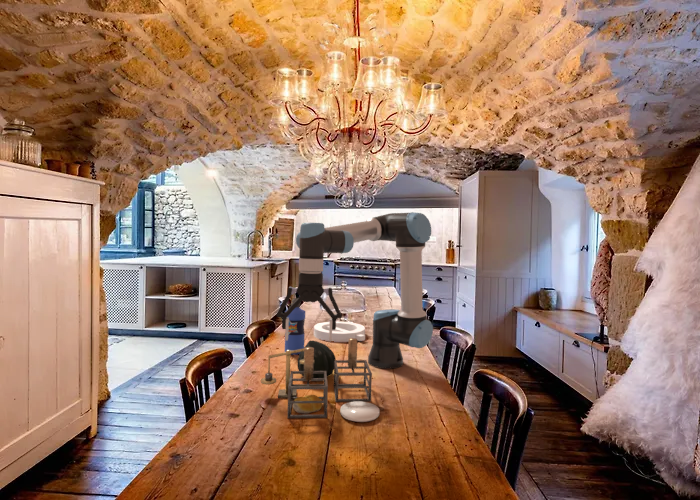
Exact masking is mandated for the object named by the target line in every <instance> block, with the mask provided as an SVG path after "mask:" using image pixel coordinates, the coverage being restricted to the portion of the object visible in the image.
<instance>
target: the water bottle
mask: <svg viewBox="0 0 700 500" xmlns="http://www.w3.org/2000/svg"><path fill="white" fill-rule="evenodd" d="M297 299H298V297H296V298H293V299H292V300H291V303H290V306H291V305H292V304H293V303H294V302H295V301H296V300H297ZM286 311H287V310H285V311H284V313H285V312H286ZM287 318H289V330H288V341H285V340H284V352H286V351H287V350H290V351H294V350H298V349H303V348H304V347H305V327H304V326H305V321H306V320H305V319H306V310H304V309H302V308H301V302H300V303H299V304H298V305H297V307H296V308H295V309H294V310H293V311H292V312H291V313H290V314H289V315H288V316H287ZM300 353H301V352H297V353H293V354H291V355H290V356H299V355H298V354H300Z"/></svg>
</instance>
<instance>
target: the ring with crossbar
mask: <svg viewBox="0 0 700 500" xmlns="http://www.w3.org/2000/svg"><path fill="white" fill-rule="evenodd" d="M329 323H330V321H323V322H320V323H316V324H315V325H313V337H314V338H316V339H318V340H320V339H321V340H322V341H324V340H325V342H330V341H329ZM349 338H356V339H357V342H364V341H365V340H366V328H365V326H364V325H362V324H360V323H355V322H351V321H336V329H335V330H332V341H334V342H333V343H349Z"/></svg>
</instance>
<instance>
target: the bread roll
mask: <svg viewBox="0 0 700 500" xmlns="http://www.w3.org/2000/svg"><path fill="white" fill-rule="evenodd" d="M296 397H297V398H296V399H295V400H293V401H322V400H321V399H320V398H319V397H320V396H317V395H316V394H309V395H308V394H307V395H305V396H296ZM322 406H323V403H292V409H293V410H294V411H295V412H296V413H298V414H304V415H307V414H310V413H315V412H319V411H320V410H321V409H322Z"/></svg>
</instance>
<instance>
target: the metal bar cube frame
mask: <svg viewBox="0 0 700 500" xmlns="http://www.w3.org/2000/svg"><path fill="white" fill-rule="evenodd" d="M347 351H348V355H347V356H348V357H347V360H345V359H343V360H342V359H337V360H334V370H333V391H334V398H335V399H334V400H335V403H349V402H354V401H363V402H368V403H371V402H372V383H373V381H372V379H373V373H372V371H371V368H370V366H369V363H368V360H367V359H361V360H359V359H357V358H358V340H357V339H356V338H349V342H348V349H347ZM359 363H360V364H361V363H362V364H364V365H363V366H357V365H358V364H359ZM338 364H347V366H338ZM346 369H347V370H351V372H350V371H349V372H348V371H347V372H346V371H345V372H339V370H346ZM356 369H357V370H358V369H359V370H361V369H362V370H363V371H360V372H359V371H355V370H356ZM343 376H345V377H347V376H349V377H353V376H354V377H355V376H356V377H357V376H361V377H363V383H339V382H340V381H339V380H340V379H339V377H343ZM368 376H369V377H368ZM339 389H364V391H365V394H366V397H367V398H339Z"/></svg>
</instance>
